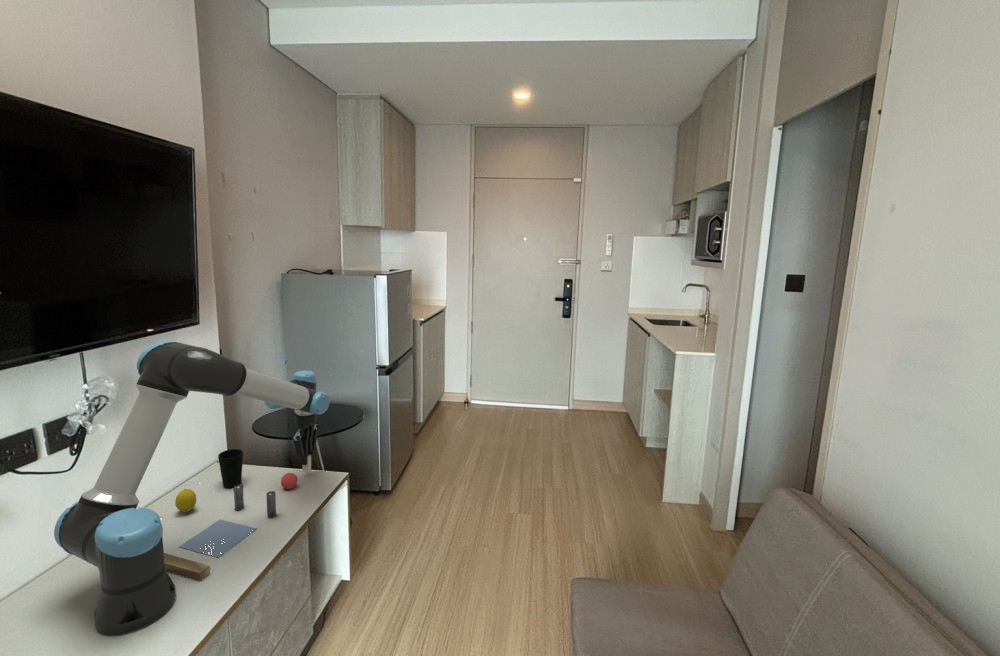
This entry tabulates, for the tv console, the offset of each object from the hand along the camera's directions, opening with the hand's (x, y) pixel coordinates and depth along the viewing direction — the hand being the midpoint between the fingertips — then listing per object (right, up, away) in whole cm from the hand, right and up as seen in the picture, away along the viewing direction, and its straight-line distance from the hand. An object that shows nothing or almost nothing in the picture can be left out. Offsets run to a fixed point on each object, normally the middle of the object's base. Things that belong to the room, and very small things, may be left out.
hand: (306, 471), depth 172 cm
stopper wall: (-13, -10, -51) cm, 54 cm away
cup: (-23, -2, -9) cm, 25 cm away
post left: (-13, -5, -23) cm, 26 cm away
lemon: (-28, -5, -26) cm, 38 cm away
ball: (-2, -1, -9) cm, 10 cm away
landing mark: (-10, -8, -38) cm, 40 cm away
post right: (0, -6, -26) cm, 26 cm away
